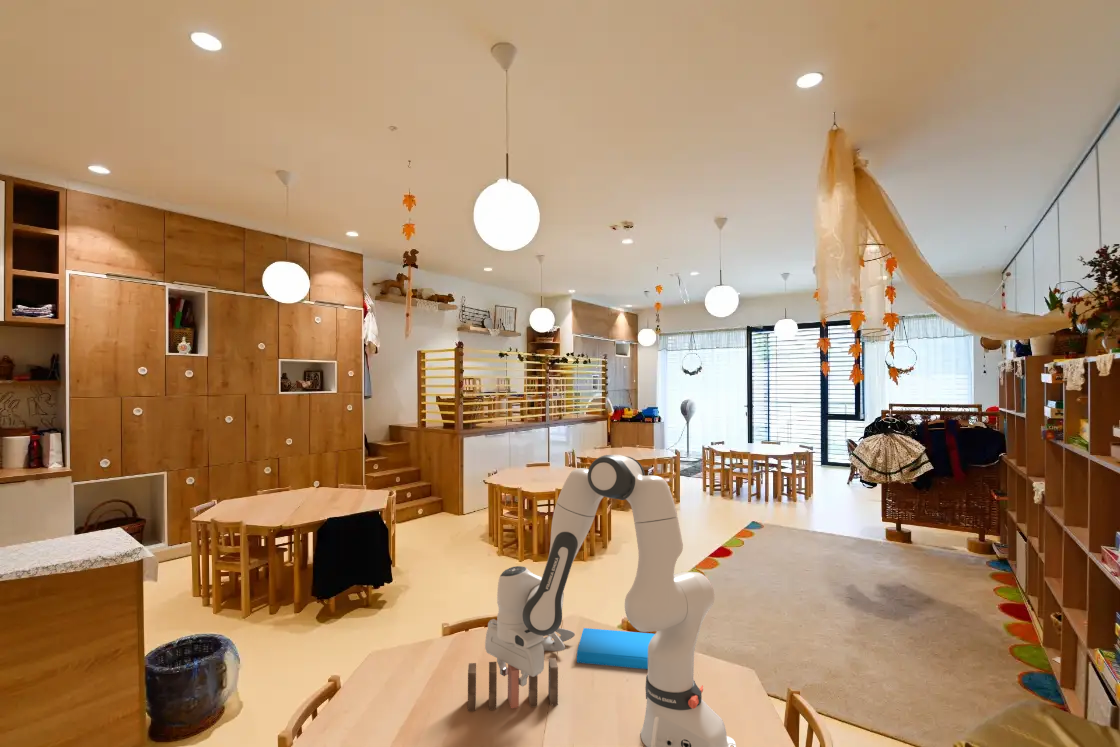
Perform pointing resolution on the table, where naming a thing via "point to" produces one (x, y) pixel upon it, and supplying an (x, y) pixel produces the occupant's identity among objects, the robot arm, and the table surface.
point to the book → (614, 648)
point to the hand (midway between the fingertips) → (513, 679)
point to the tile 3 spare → (513, 686)
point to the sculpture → (557, 640)
